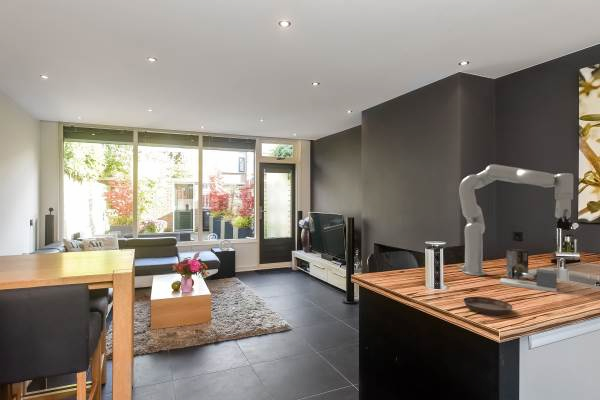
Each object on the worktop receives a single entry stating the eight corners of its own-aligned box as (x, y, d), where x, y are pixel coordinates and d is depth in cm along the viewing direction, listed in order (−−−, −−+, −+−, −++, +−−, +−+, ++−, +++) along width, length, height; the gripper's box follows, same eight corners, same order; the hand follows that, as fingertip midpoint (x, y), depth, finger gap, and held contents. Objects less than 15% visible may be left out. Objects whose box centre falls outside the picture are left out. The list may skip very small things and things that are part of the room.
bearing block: (536, 285, 167) (536, 271, 167) (536, 282, 174) (536, 269, 174) (556, 288, 163) (556, 274, 163) (555, 285, 169) (555, 271, 169)
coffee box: (522, 276, 194) (522, 249, 194) (528, 279, 188) (529, 250, 188) (505, 276, 195) (506, 248, 195) (511, 278, 189) (512, 250, 189)
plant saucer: (479, 300, 148) (480, 294, 148) (521, 313, 133) (522, 305, 133) (453, 306, 140) (454, 299, 140) (495, 320, 124) (495, 312, 124)
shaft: (514, 279, 174) (514, 270, 174) (514, 277, 178) (514, 268, 178) (541, 283, 168) (541, 273, 167) (541, 281, 172) (541, 271, 172)
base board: (499, 284, 176) (499, 281, 176) (501, 280, 184) (501, 277, 184) (556, 292, 162) (556, 289, 162) (555, 287, 170) (555, 284, 170)
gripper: (551, 196, 184) (550, 227, 184) (559, 196, 169) (558, 230, 169) (568, 196, 181) (567, 228, 181) (577, 196, 165) (577, 230, 166)
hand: (563, 229), depth 175 cm, fingers open, 9 cm apart
